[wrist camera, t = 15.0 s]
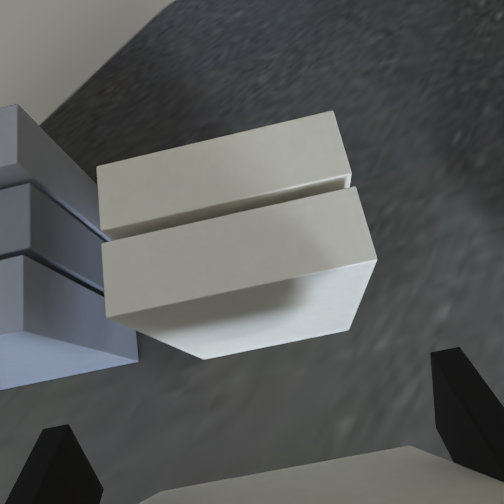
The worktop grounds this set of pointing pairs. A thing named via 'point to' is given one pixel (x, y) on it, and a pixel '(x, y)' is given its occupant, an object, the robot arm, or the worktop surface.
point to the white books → (236, 239)
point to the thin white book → (350, 483)
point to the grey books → (51, 263)
